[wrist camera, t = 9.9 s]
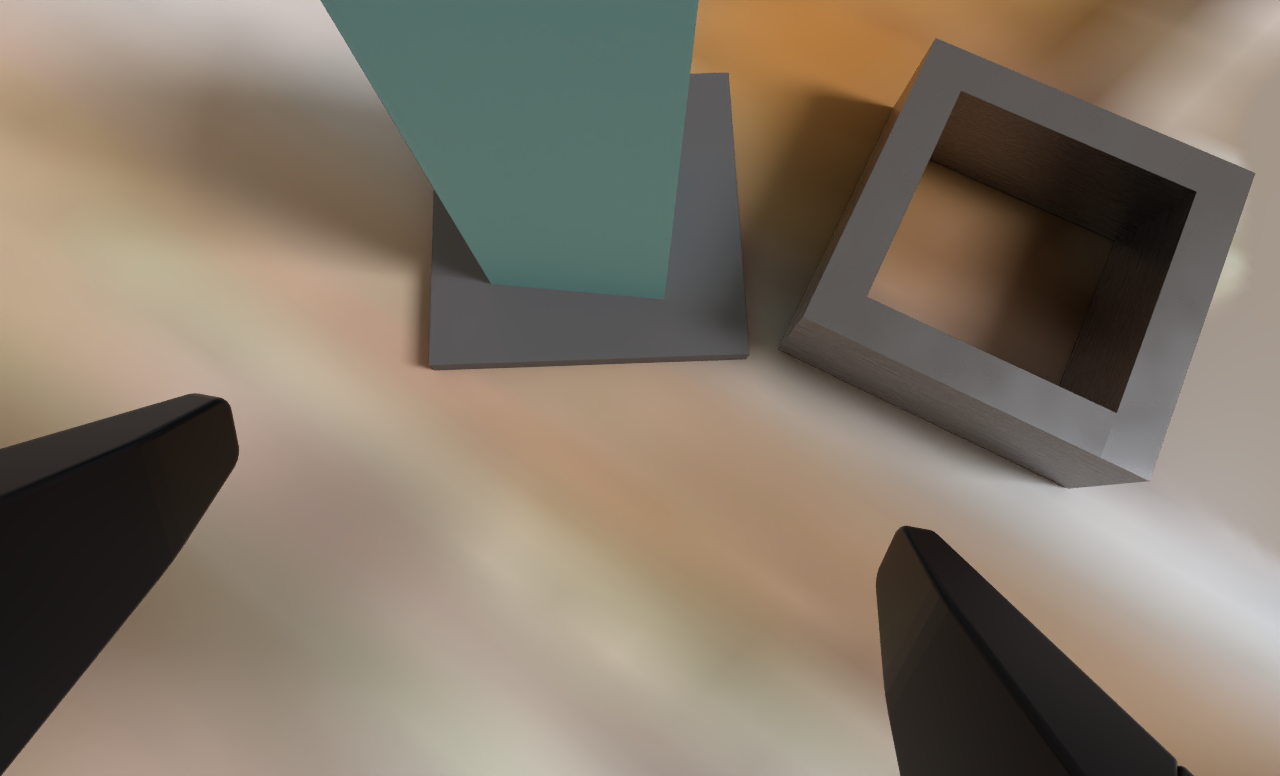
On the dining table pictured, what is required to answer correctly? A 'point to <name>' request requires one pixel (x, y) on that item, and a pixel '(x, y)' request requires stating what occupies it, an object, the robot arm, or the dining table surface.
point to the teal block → (540, 127)
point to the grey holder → (1072, 189)
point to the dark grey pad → (601, 323)
